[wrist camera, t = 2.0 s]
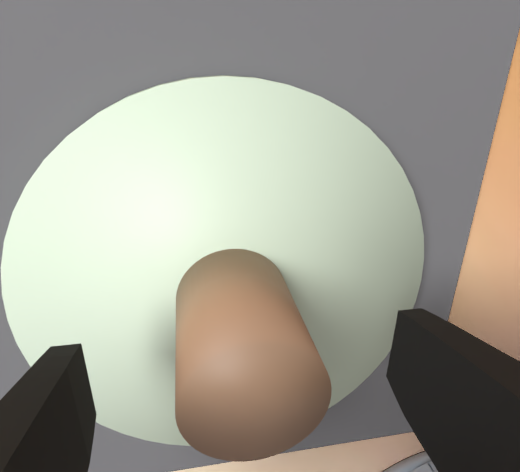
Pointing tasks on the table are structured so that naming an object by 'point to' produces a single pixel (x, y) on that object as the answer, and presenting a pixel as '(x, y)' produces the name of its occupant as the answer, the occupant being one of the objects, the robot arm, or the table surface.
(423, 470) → the bowl
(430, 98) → the mat
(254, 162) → the lid
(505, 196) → the table surface
